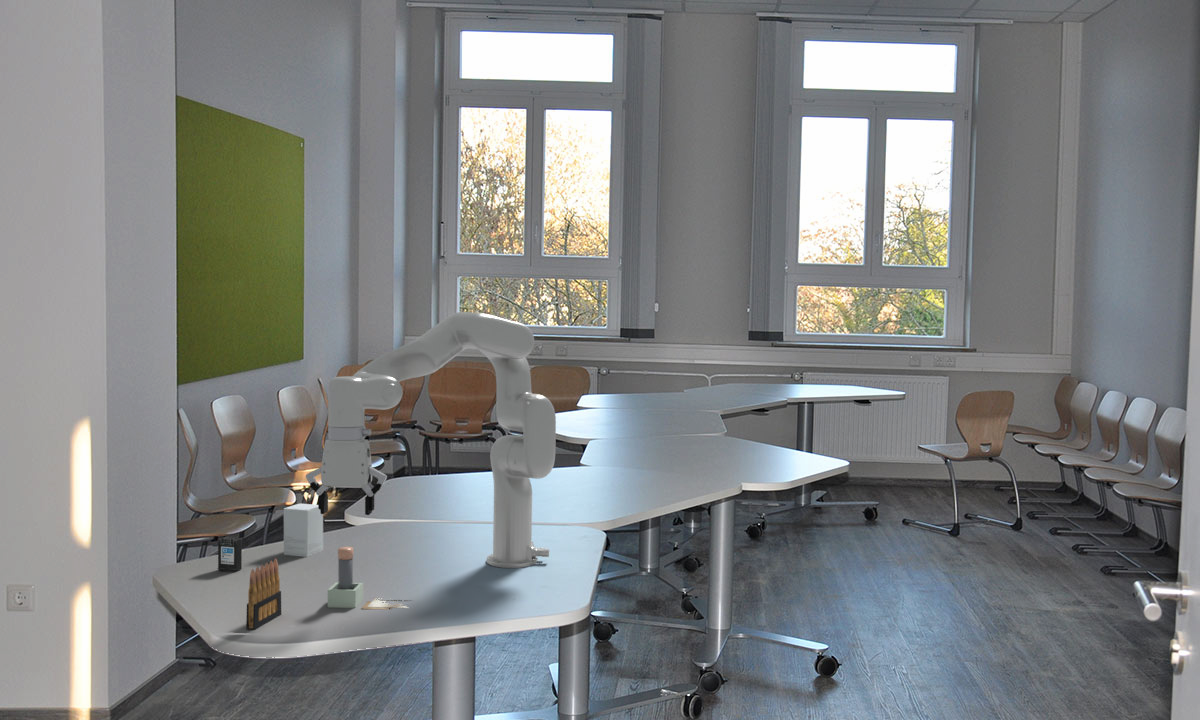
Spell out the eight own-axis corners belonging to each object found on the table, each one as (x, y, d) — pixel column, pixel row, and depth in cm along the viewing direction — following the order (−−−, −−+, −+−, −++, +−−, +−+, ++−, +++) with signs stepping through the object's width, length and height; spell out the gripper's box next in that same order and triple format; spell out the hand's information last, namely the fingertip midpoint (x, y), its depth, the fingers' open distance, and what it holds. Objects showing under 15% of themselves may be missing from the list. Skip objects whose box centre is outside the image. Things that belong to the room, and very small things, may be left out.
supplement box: (324, 553, 266) (324, 504, 265) (307, 559, 259) (307, 510, 258) (300, 550, 268) (300, 502, 268) (282, 556, 261) (282, 507, 261)
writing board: (442, 596, 228) (442, 593, 228) (431, 612, 216) (431, 609, 216) (375, 594, 229) (375, 591, 229) (361, 610, 217) (361, 607, 217)
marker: (354, 601, 222) (355, 547, 222) (350, 605, 219) (350, 550, 218) (340, 600, 222) (340, 546, 222) (336, 605, 219) (336, 550, 218)
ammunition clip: (273, 613, 214) (273, 557, 213) (281, 614, 213) (281, 557, 213) (245, 629, 203) (245, 569, 203) (254, 630, 203) (254, 570, 202)
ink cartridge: (217, 571, 246) (217, 538, 246) (222, 568, 249) (222, 536, 248) (236, 572, 245) (236, 539, 245) (241, 570, 248) (241, 537, 247)
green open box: (363, 601, 224) (363, 583, 224) (355, 609, 218) (355, 590, 218) (335, 600, 224) (335, 582, 224) (327, 608, 218) (327, 589, 218)
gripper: (390, 432, 222) (390, 510, 223) (312, 431, 223) (312, 509, 224) (382, 437, 215) (381, 517, 216) (300, 435, 215) (300, 516, 216)
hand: (346, 513), depth 220 cm, fingers open, 9 cm apart
